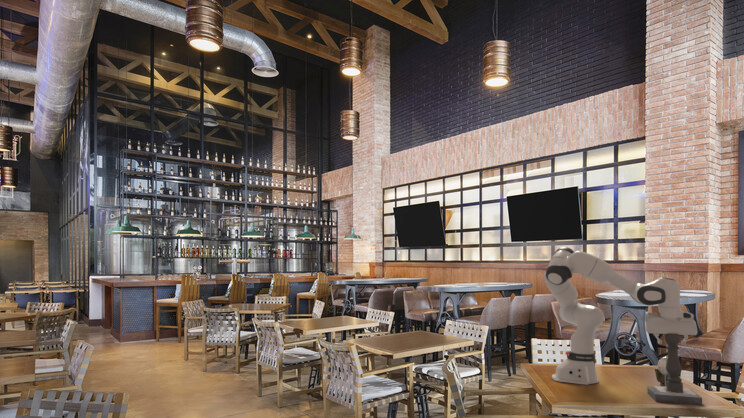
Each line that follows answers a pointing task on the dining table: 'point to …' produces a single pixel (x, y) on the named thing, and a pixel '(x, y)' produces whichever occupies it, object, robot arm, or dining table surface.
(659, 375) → the cup
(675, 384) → the candle holder
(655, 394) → the scale base
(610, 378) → the dining table surface
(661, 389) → the scale pan
